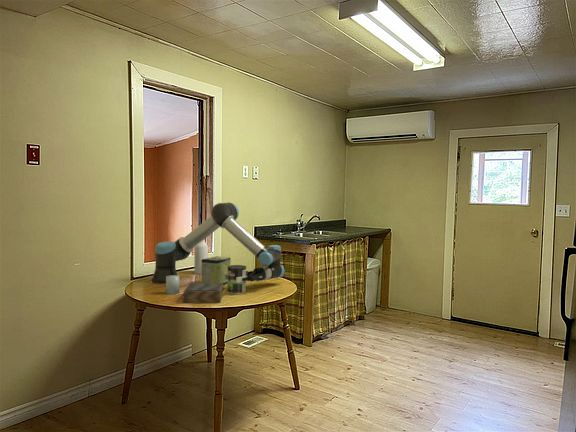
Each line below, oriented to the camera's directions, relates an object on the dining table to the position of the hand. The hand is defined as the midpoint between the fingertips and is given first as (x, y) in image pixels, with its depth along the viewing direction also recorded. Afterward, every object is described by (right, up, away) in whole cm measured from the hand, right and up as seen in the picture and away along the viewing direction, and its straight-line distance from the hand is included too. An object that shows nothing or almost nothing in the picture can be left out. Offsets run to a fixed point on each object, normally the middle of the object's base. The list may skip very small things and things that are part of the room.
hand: (230, 278), depth 230 cm
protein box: (-12, -7, +22) cm, 26 cm away
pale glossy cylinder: (-31, -8, -1) cm, 32 cm away
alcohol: (-27, -5, +55) cm, 62 cm away
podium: (-12, -8, -12) cm, 19 cm away
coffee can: (+3, -8, +3) cm, 9 cm away
